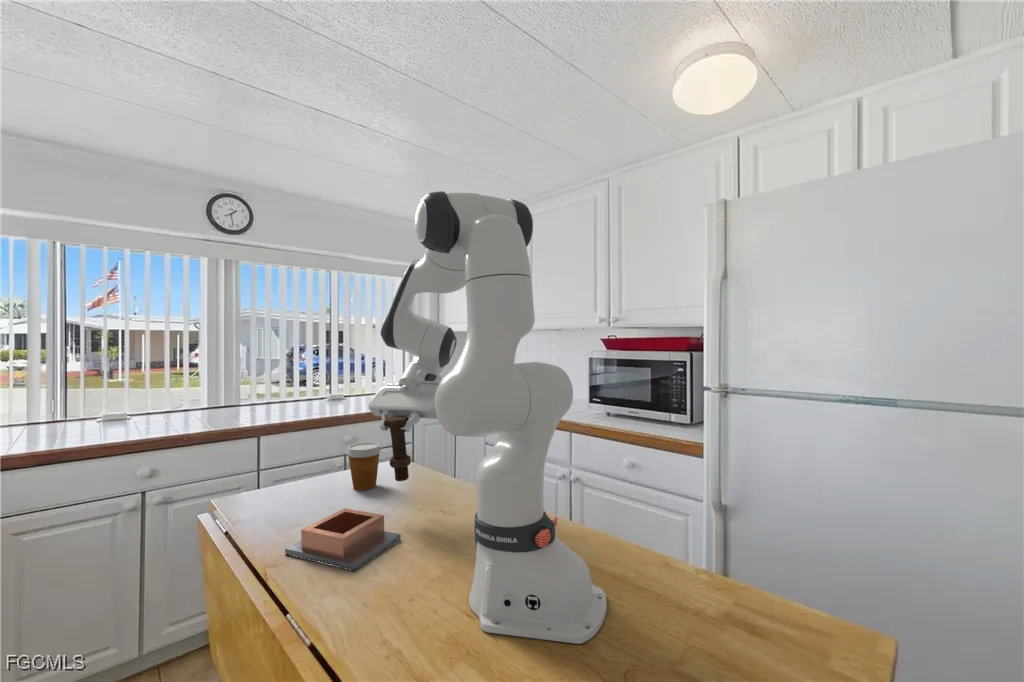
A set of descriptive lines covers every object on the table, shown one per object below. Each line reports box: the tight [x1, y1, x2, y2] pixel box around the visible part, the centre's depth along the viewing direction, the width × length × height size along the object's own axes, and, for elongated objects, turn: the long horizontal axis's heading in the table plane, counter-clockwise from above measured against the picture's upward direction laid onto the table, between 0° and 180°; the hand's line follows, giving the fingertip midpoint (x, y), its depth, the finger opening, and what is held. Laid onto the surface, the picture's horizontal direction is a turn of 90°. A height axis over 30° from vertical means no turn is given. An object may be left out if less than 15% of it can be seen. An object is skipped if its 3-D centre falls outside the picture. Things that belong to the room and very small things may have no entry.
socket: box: [284, 508, 402, 571], centre depth 95 cm, size 18×14×5 cm
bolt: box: [384, 415, 412, 482], centre depth 108 cm, size 6×5×15 cm
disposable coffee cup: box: [346, 442, 382, 492], centre depth 132 cm, size 10×10×12 cm
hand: (393, 430), depth 107 cm, fingers closed on bolt, 5 cm apart
